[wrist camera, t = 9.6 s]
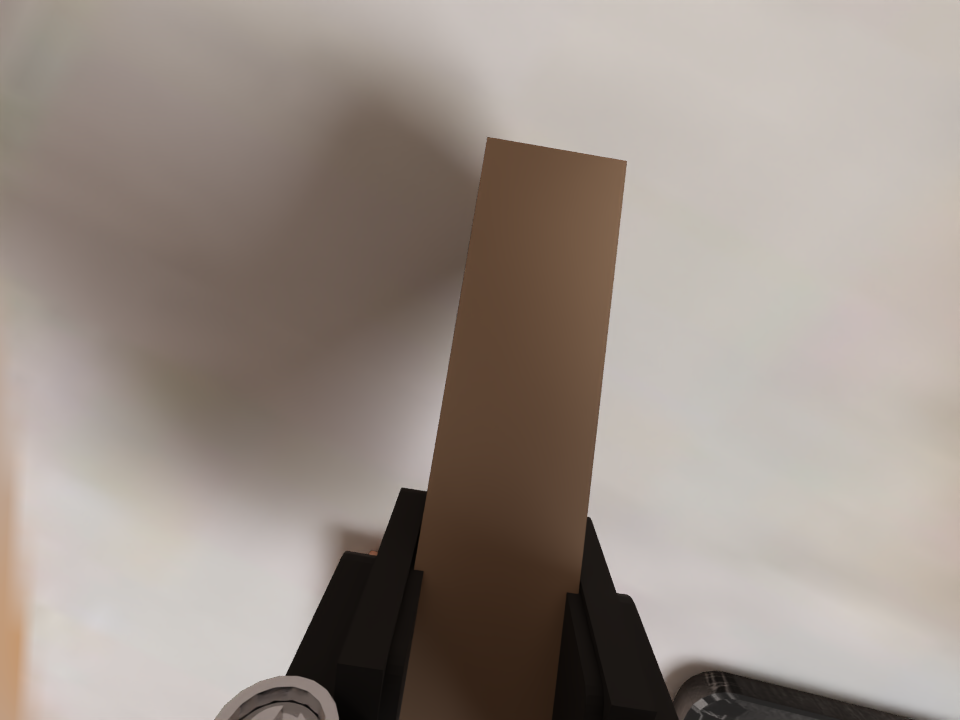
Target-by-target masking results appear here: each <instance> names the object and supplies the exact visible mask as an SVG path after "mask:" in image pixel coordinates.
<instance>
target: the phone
mask: <svg viewBox="0 0 960 720" xmlns="http://www.w3.org/2000/svg"><path fill="white" fill-rule="evenodd" d="M673 705H674V708H675V710H676V713H677V716H678V718H679V720H913V719H909V718H905V717H901V716H897V715H893V714H889V713H885V712H881V711H877V710H873V709H869V708H865V707H861V706H857V705H853V704H849V703H845V702H841V701H837V700H833V699H829V698H825V697H821V696H817V695H813V694H809V693H805V692H801V691H797V690H793V689H789V688H785V687H781V686H777V685H773V684H770V683H766V682H762V681H758V680H754V679H750V678H746V677H742V676H738V675H734V674H730V673H726V672H718V671H710V672H703V673H700V674H698V675H695V676H693V677H691V678H690V679H689V680H687V681H686V682H685V683H684V684H683V685H682V687H681V688H680V690H679V691H678V693H677V695H676V697H675V699H674V701H673Z"/></svg>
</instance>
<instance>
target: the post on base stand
mask: <svg viewBox="0 0 960 720" xmlns="http://www.w3.org/2000/svg"><path fill="white" fill-rule="evenodd" d="M626 165H627V161H623V160H617V159H612V158H606V157H600V156H594V155H588V154H583V153H577V152H571V151H565V150H560V149H554V148H548V147H542V146H536V145H531V144H525V143H519V142H513V141H508V140H502V139H496V138H490V137H487V143H486V149H485V154H484V160H483V166H482V172H481V178H480V184H479V190H478V196H477V202H476V207H475V213H474V219H473V225H472V231H471V237H470V243H469V249H468V254H467V260H466V266H465V272H464V278H463V284H462V290H461V296H460V301H459V307H458V313H457V319H456V325H455V331H454V337H453V343H452V349H451V354H450V360H449V366H448V372H447V378H446V384H445V390H444V396H443V401H442V407H441V413H440V419H439V425H438V431H437V437H436V443H435V449H434V454H433V460H432V466H431V472H430V478H429V484H428V490H427V496H426V501H425V507H424V513H423V519H422V525H421V531H420V537H419V543H418V549H417V554H416V560H415V566H414V570H420V571H424V573H423V579H422V585H421V591H420V597H419V603H418V609H417V615H416V621H415V627H414V633H413V639H412V645H411V651H410V657H409V663H408V669H407V675H406V681H405V687H404V693H403V699H402V705H401V711H400V717H399V720H552V714H553V705H554V696H555V688H556V679H557V671H558V662H559V654H560V645H561V637H562V628H563V619H564V611H565V602H566V594H567V592H568V593H575V594H578V593H579V584H580V575H581V567H582V558H583V549H584V540H585V531H586V522H587V513H588V504H589V495H590V486H591V477H592V468H593V459H594V450H595V442H596V433H597V424H598V415H599V406H600V397H601V388H602V379H603V370H604V361H605V352H606V343H607V334H608V325H609V317H610V308H611V299H612V290H613V281H614V272H615V263H616V254H617V245H618V236H619V227H620V218H621V209H622V200H623V192H624V183H625V174H626Z"/></svg>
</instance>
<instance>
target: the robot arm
mask: <svg viewBox="0 0 960 720" xmlns="http://www.w3.org/2000/svg"><path fill="white" fill-rule="evenodd" d="M426 496H427V491H420V490H414V489H408V488H401V490H400V493H399V496H398V498H397V501H396V504H395V507H394V509H393V512H392V515H391V518H390V520H389V523H388V526H387V529H386V531H385V534H384V537H383V539H382V542H381V545H380V548H379V550H378V553H377V556H375V555H369V554H362V553H356V552H350V551H346V552H345V553H344V554H343V556H342V557H341V559H340V561H339V563H338V566H337V568H336V570H335V572H334V574H333V576H332V578H331V580H330V583H329V585H328V587H327V589H326V591H325V593H324V595H323V597H322V599H321V602H320V604H319V606H318V608H317V610H316V612H315V614H314V616H313V619H312V621H311V623H310V625H309V627H308V629H307V631H306V633H305V635H304V638H303V640H302V642H301V644H300V646H299V648H298V650H297V652H296V655H295V657H294V659H293V661H292V663H291V665H290V667H289V669H288V671H287V674H286V676H278V677H274V678H270V679H266V680H263V681H259V682H257V683H256V684H254V685H252V686H250V687H248V688H246V689H244V690H242V691H241V692H240V693H238V694H237V695H236V696H235V697H234V698H233V699H231V700H230V701H229V702H228V703H227V704H226V705H224V707H223V708H222V710H221V711H220V712H219V714H218V715H217V716H216V718H215V719H214V720H399V717H400V711H401V705H402V699H403V693H404V687H405V681H406V675H407V669H408V663H409V657H410V651H411V645H412V639H413V633H414V627H415V621H416V615H417V609H418V603H419V597H420V591H421V585H422V579H423V573H424V571H420V570H414V566H415V560H416V554H417V549H418V543H419V537H420V531H421V525H422V519H423V513H424V507H425V501H426ZM552 720H679V718H678V716H677V713H676V710H675V708H674V705H673V703H672V700H671V697H670V695H669V692H668V689H667V687H666V684H665V682H664V679H663V676H662V674H661V671H660V669H659V666H658V663H657V661H656V658H655V655H654V653H653V650H652V648H651V645H650V642H649V640H648V637H647V635H646V632H645V629H644V627H643V624H642V621H641V619H640V616H639V614H638V611H637V608H636V606H635V603H634V602H633V600H632V598H631V597H630V596H629V595H626V594H619V593H616V590H615V587H614V584H613V581H612V578H611V575H610V573H609V570H608V567H607V564H606V561H605V558H604V555H603V552H602V549H601V546H600V543H599V540H598V538H597V535H596V532H595V529H594V526H593V523H592V520H591V518H590V517H587V522H586V531H585V540H584V549H583V558H582V567H581V575H580V584H579V593H578V594H575V593H568V592H567V594H566V602H565V611H564V619H563V628H562V637H561V645H560V654H559V662H558V671H557V679H556V688H555V696H554V705H553V714H552Z"/></svg>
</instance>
